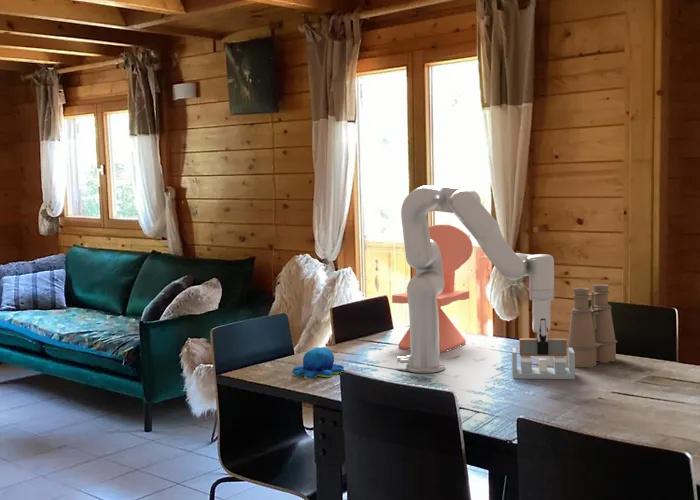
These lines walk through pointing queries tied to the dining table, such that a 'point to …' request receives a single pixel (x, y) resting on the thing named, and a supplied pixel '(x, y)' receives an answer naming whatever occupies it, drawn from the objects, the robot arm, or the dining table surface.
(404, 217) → the robot arm
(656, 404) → the dining table surface
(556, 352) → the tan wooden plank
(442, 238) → the chair
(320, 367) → the plush toy
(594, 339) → the binoculars
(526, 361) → the display cradle
